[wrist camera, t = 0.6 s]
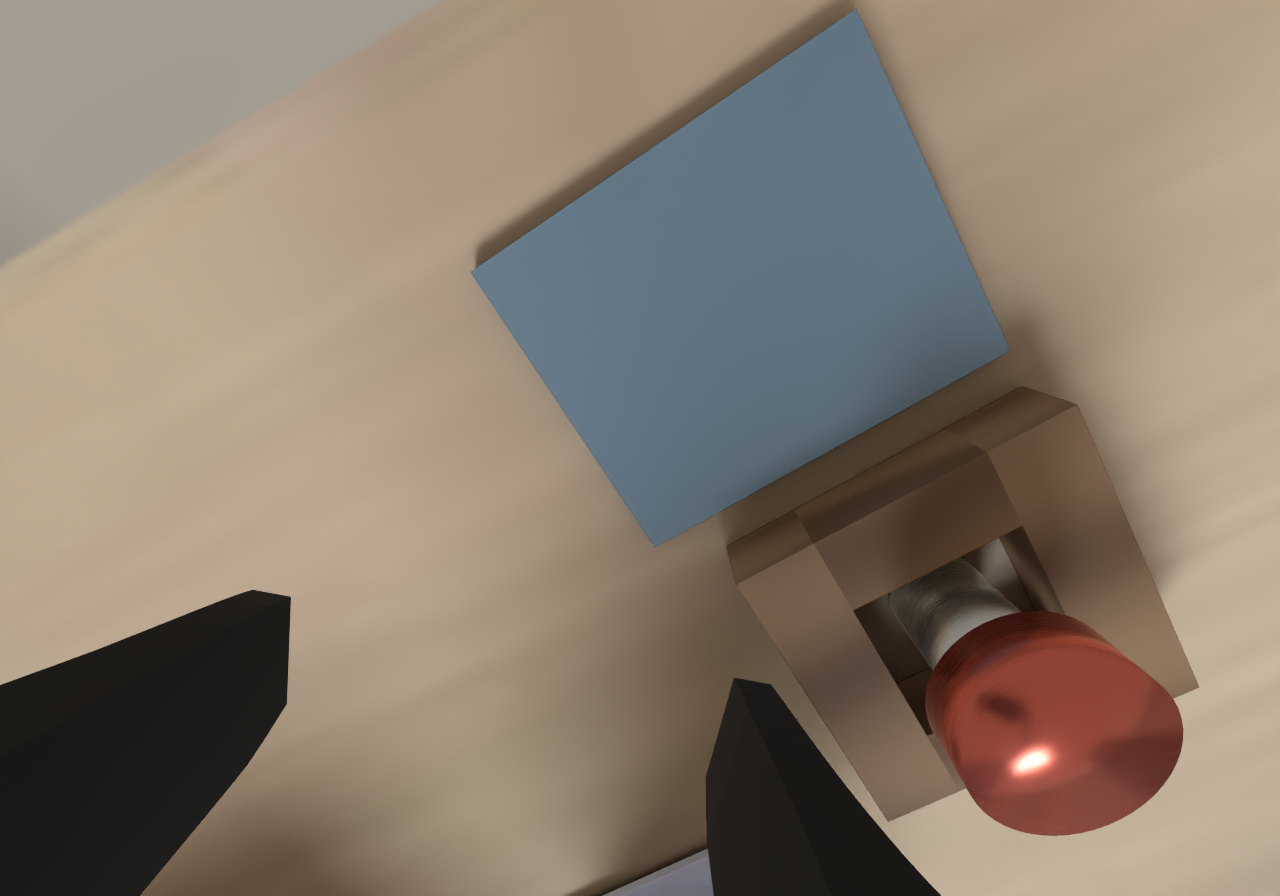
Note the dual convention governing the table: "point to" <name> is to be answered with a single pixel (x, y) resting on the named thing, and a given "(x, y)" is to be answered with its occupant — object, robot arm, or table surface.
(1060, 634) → the red mushroom head
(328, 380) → the table surface
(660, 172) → the mat
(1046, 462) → the eye block
